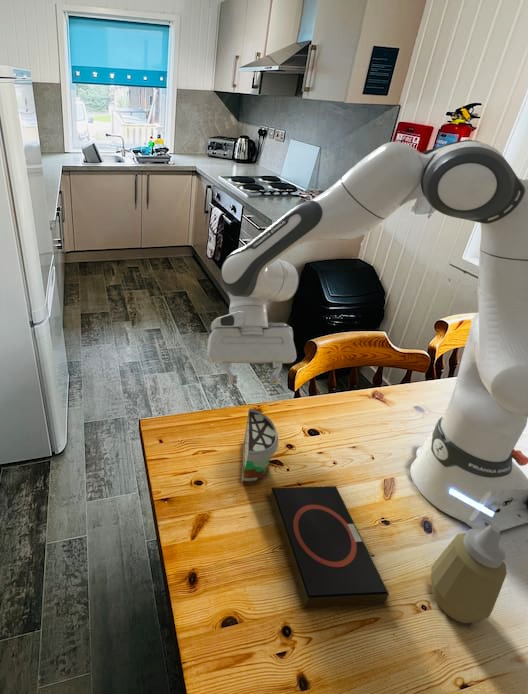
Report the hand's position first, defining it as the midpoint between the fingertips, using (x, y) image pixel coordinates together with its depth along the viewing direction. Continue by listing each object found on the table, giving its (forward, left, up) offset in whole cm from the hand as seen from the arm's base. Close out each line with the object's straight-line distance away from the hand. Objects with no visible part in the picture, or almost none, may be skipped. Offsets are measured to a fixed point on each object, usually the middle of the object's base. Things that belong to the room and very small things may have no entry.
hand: (253, 383), depth 88 cm
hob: (-7, +26, -13) cm, 30 cm away
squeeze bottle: (-25, +35, -14) cm, 45 cm away
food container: (0, +10, -14) cm, 17 cm away
